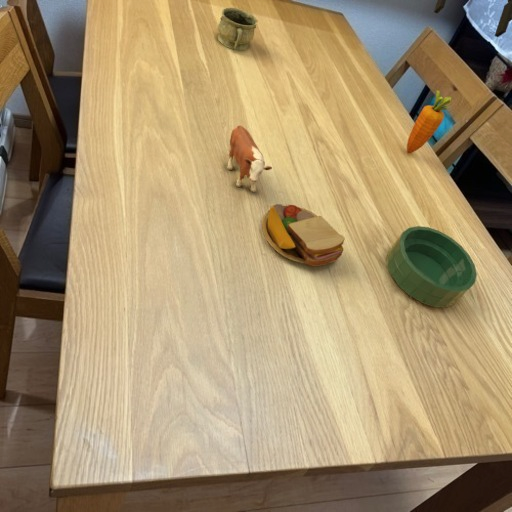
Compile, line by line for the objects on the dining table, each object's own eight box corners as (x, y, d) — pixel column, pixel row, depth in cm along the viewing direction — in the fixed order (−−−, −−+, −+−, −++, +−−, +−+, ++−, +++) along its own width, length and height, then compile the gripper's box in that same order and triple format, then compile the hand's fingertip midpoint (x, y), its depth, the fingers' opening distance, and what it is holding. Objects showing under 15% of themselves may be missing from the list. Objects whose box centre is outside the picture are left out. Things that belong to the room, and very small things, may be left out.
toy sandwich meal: (311, 207, 86) (321, 187, 83) (348, 267, 79) (360, 247, 76) (248, 213, 81) (256, 192, 77) (281, 277, 74) (292, 257, 70)
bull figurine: (238, 206, 81) (252, 168, 75) (220, 153, 89) (231, 116, 83) (262, 207, 83) (277, 170, 77) (243, 155, 91) (255, 118, 85)
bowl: (453, 259, 89) (469, 241, 85) (463, 319, 79) (483, 301, 76) (384, 236, 87) (397, 216, 84) (386, 294, 78) (402, 275, 74)
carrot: (396, 143, 110) (432, 84, 99) (416, 149, 111) (454, 91, 100) (399, 157, 107) (437, 97, 96) (420, 162, 108) (460, 104, 97)
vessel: (252, 58, 117) (260, 32, 112) (216, 49, 114) (223, 23, 110) (248, 34, 124) (255, 9, 120) (214, 26, 122) (220, 0, 117)
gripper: (545, -48, 102) (513, 50, 103) (437, -93, 99) (404, 8, 100) (572, -69, 95) (537, 36, 95) (456, -119, 92) (420, -10, 92)
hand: (469, 22), depth 98 cm, fingers open, 13 cm apart
